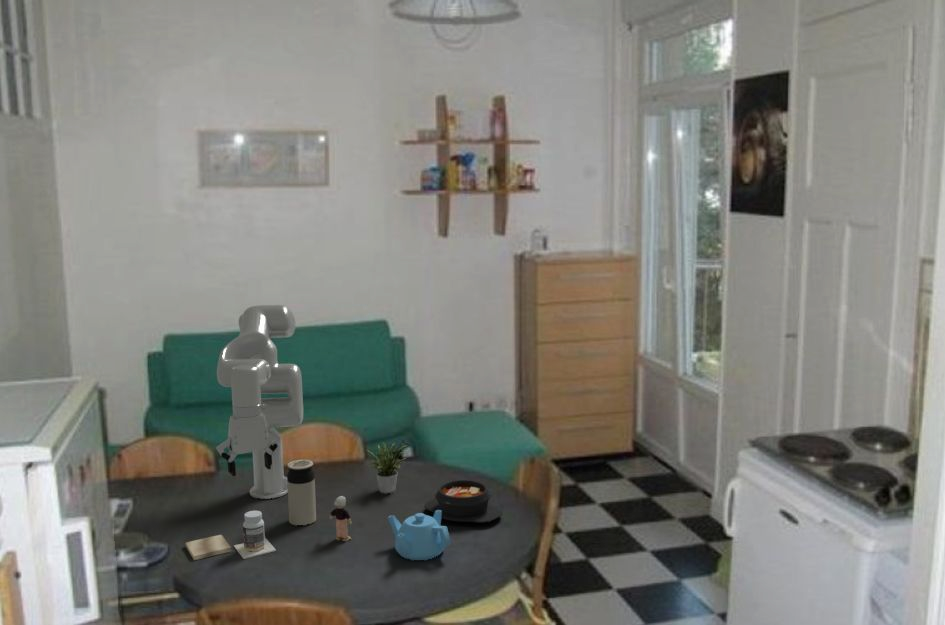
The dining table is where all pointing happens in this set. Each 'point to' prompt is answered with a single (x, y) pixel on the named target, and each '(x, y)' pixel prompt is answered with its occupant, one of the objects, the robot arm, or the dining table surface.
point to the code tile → (248, 554)
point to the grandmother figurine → (341, 518)
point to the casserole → (464, 502)
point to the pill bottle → (253, 531)
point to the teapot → (420, 536)
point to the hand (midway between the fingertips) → (250, 471)
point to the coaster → (208, 547)
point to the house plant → (387, 468)
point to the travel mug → (301, 492)
